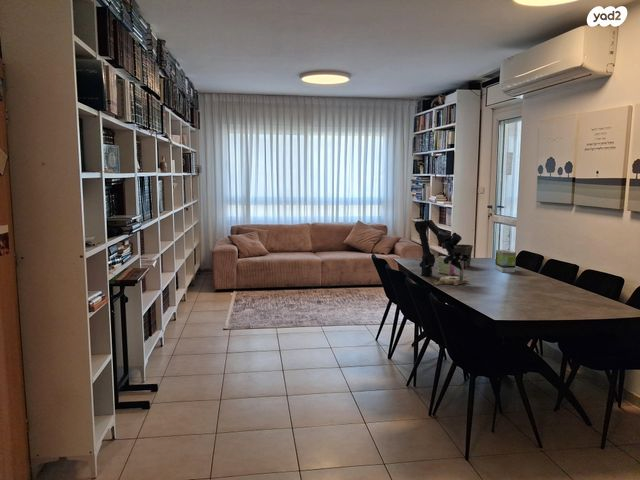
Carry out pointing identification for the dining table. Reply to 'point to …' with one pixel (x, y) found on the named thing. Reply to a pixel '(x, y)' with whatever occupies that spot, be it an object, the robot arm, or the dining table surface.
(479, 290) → the dining table surface
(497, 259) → the tea box
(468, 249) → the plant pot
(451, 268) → the box
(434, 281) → the pointer
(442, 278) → the index wheel
